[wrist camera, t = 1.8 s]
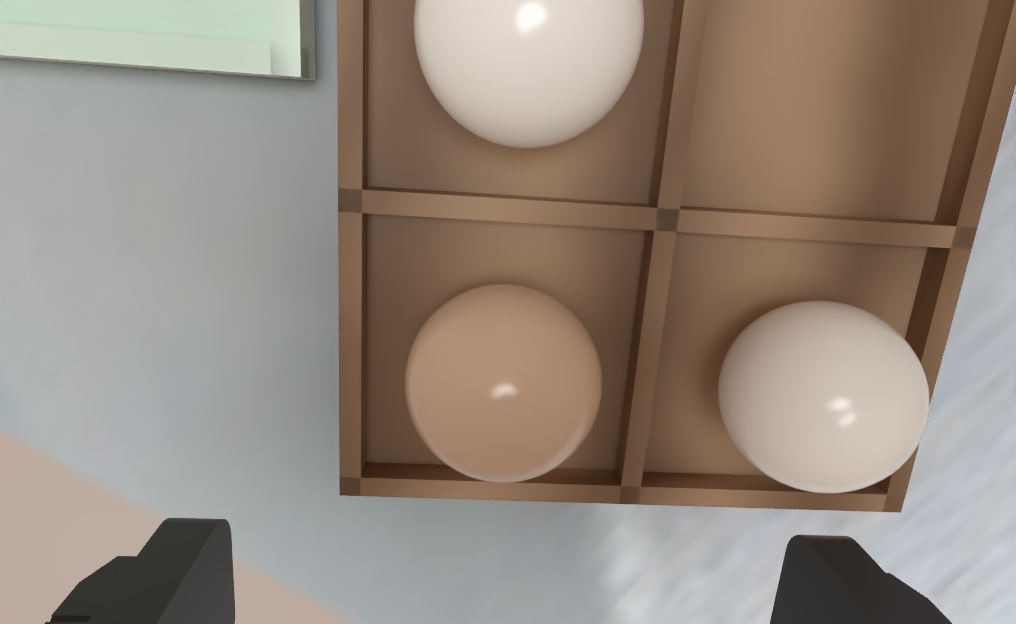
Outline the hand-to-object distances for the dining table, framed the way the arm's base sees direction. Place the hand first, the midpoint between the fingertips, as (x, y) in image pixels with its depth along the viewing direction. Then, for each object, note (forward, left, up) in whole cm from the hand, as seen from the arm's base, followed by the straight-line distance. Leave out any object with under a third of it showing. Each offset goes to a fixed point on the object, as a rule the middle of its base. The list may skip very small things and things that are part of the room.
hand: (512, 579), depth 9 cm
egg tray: (-4, -4, -13) cm, 14 cm away
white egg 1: (0, -8, -8) cm, 11 cm away
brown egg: (0, 0, -8) cm, 8 cm away
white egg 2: (-9, 0, -8) cm, 11 cm away
